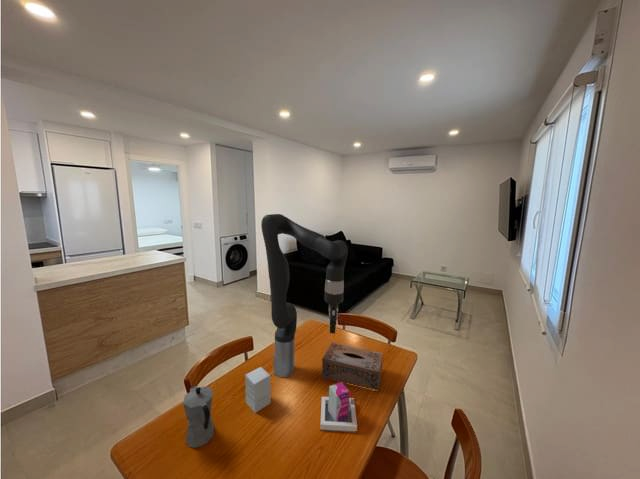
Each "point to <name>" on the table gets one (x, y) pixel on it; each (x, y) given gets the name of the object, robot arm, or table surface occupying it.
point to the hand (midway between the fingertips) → (332, 327)
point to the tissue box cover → (352, 365)
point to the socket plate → (342, 425)
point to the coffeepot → (199, 416)
